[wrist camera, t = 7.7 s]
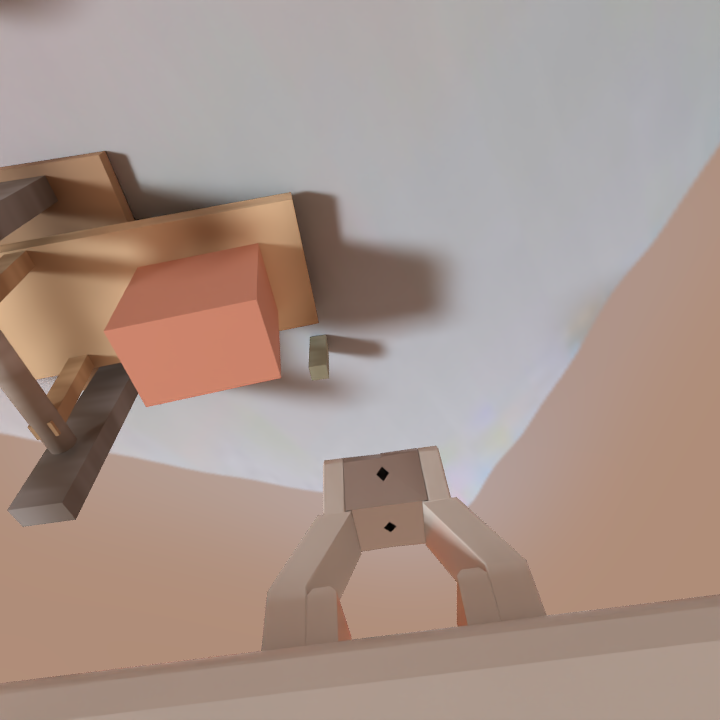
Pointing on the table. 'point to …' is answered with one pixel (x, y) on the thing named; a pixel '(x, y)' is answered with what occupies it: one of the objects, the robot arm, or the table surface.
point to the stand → (106, 383)
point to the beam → (106, 287)
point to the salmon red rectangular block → (197, 326)
